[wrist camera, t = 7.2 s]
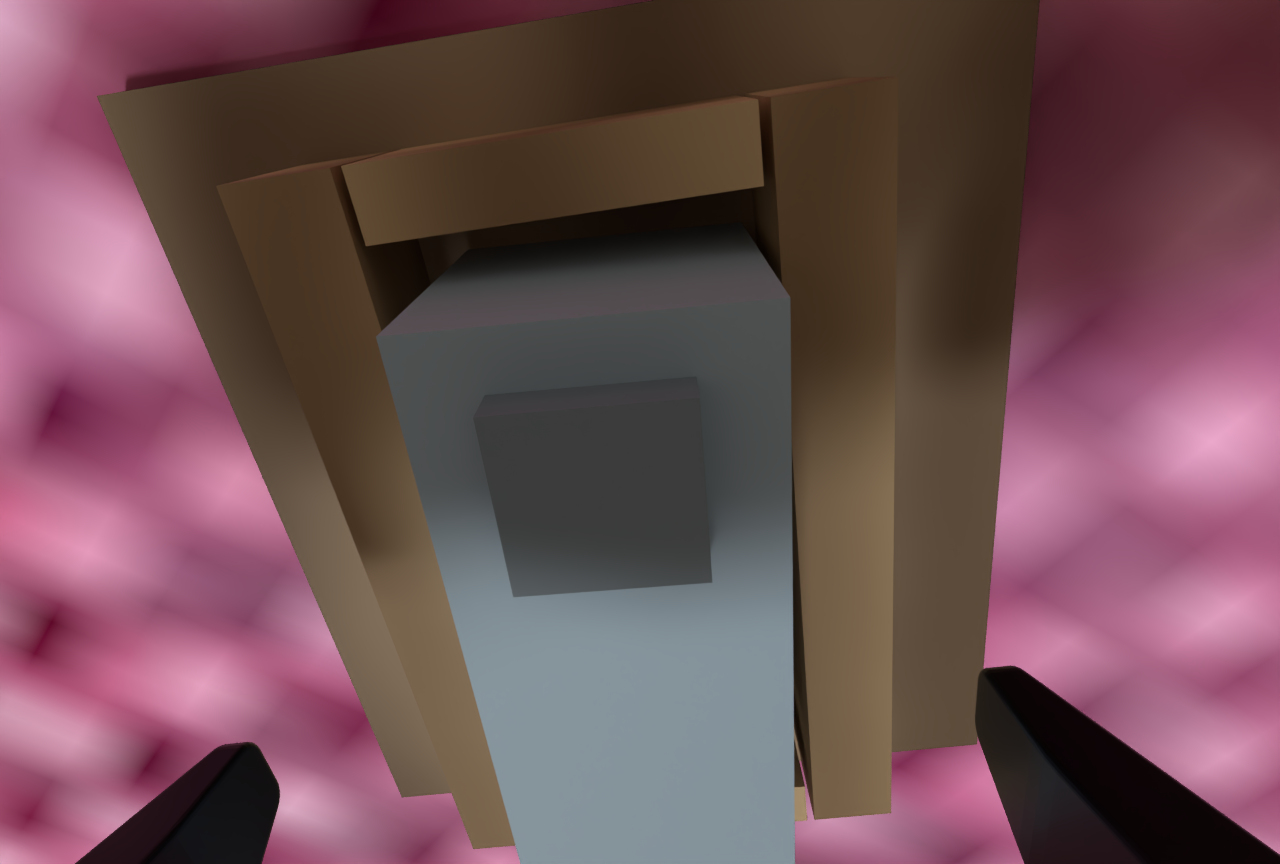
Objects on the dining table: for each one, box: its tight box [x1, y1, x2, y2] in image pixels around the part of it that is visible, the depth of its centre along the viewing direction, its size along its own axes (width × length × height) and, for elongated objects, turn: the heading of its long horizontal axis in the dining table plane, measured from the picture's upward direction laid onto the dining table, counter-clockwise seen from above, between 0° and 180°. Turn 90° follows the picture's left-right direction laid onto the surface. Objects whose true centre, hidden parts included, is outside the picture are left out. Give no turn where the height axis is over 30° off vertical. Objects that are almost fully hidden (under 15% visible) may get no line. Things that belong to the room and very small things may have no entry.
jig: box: [97, 0, 1040, 849], centre depth 13 cm, size 14×16×3 cm
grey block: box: [376, 222, 795, 864], centre depth 12 cm, size 4×10×5 cm, turn 6°
